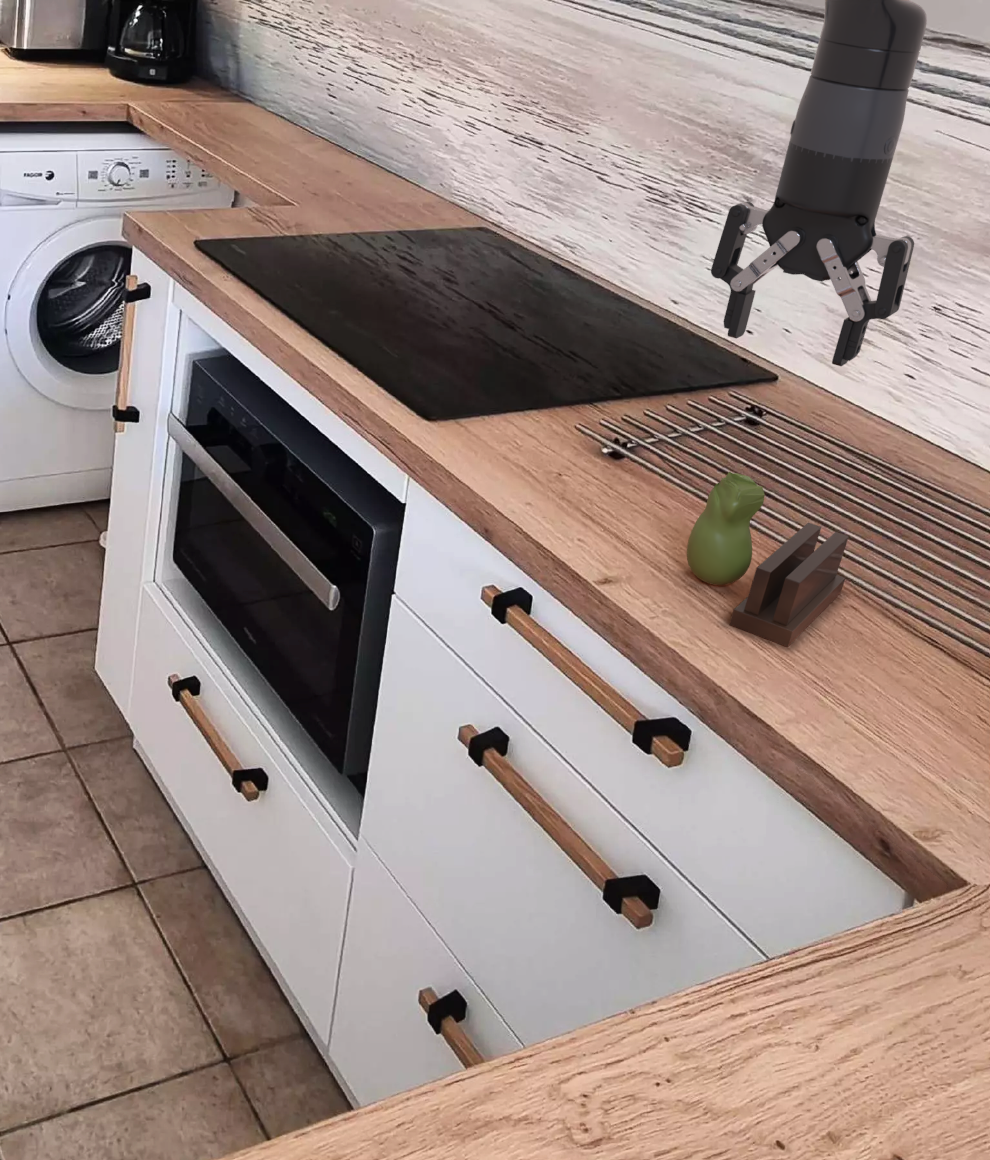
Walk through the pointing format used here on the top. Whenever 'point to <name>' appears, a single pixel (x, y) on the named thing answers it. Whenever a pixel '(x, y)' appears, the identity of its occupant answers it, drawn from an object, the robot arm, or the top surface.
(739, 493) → the pear
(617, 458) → the top surface
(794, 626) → the holder
